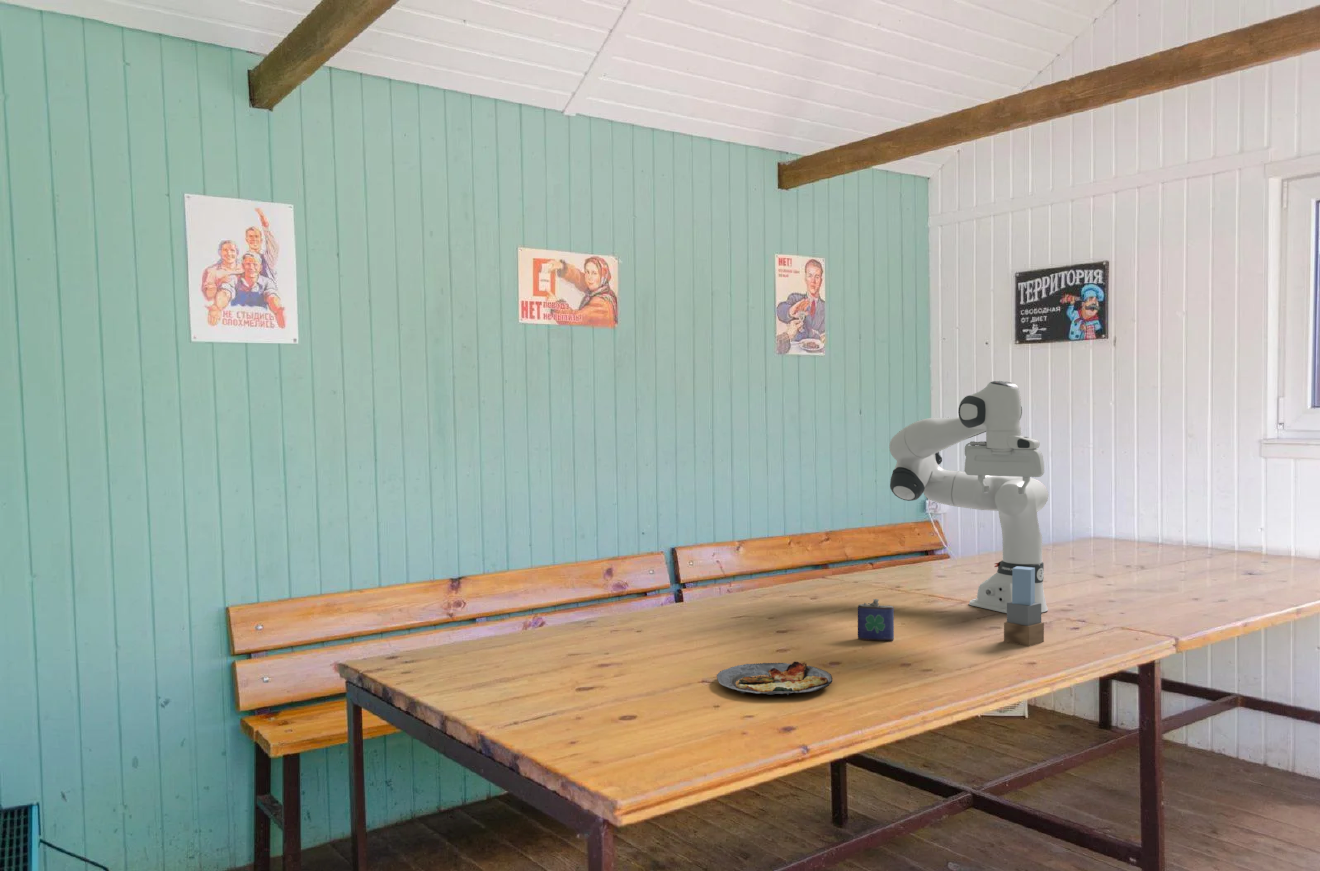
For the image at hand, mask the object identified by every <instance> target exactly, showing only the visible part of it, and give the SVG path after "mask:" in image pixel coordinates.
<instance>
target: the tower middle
mask: <svg viewBox="0 0 1320 871" xmlns="http://www.w3.org/2000/svg"><path fill="white" fill-rule="evenodd" d="M1006 622H1009V623H1015V624H1020V625H1025V626H1030V625H1034V624H1039V623H1041V622H1042V612H1041V603H1036V602H1035V603H1033V604H1032V605H1021V604H1012V602H1008V603H1007V613H1006Z"/></svg>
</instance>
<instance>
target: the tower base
mask: <svg viewBox="0 0 1320 871" xmlns="http://www.w3.org/2000/svg"><path fill="white" fill-rule="evenodd" d="M1044 636H1045V623H1044V622H1042V621H1041V623H1039V624H1034V625H1030V626H1025V625H1020V624H1015V623H1009V622H1007V621H1004V622H1003V642H1005V643H1006V642H1007V643H1011V644H1015V645H1021V646H1025V647H1026V646H1027V647H1031V646H1034V645H1035V646H1036V645H1038V644H1041V643H1044V642H1045V637H1044Z"/></svg>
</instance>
